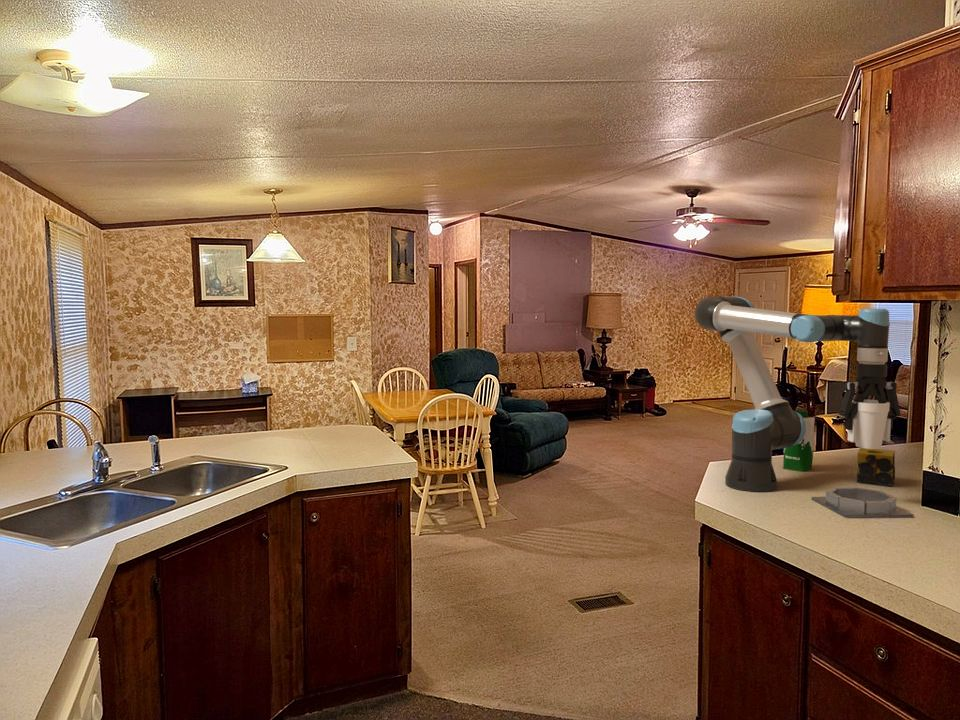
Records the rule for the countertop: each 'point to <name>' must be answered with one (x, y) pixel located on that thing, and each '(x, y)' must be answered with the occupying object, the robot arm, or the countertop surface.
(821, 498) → the ring seat
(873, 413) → the foam cup
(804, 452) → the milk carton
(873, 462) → the yellow black cube
